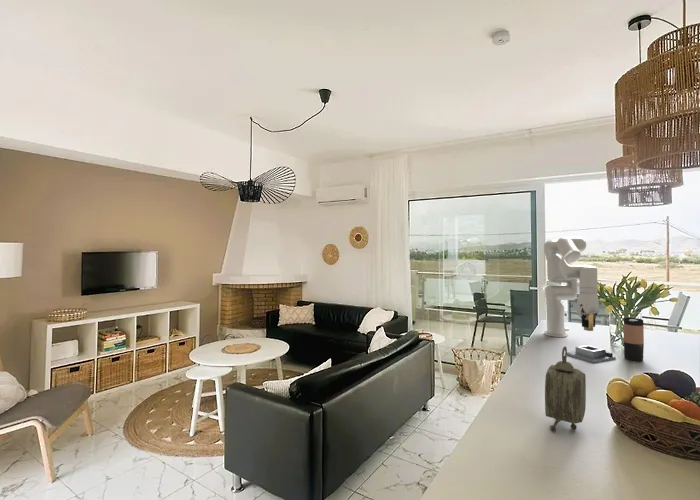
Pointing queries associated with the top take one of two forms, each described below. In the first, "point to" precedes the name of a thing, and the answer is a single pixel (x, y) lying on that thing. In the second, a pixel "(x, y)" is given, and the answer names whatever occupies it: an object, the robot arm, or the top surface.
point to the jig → (591, 354)
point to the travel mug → (633, 339)
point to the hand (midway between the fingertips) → (588, 326)
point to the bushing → (590, 318)
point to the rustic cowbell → (565, 393)
